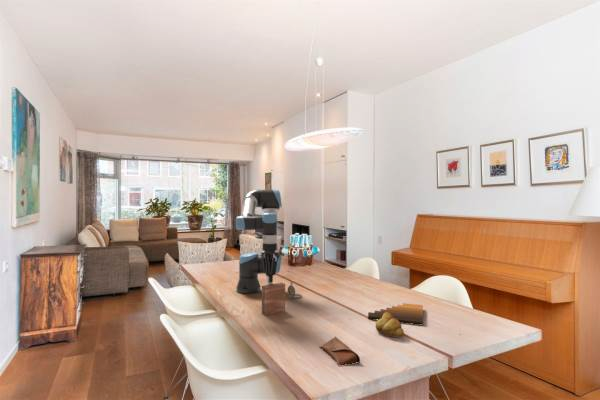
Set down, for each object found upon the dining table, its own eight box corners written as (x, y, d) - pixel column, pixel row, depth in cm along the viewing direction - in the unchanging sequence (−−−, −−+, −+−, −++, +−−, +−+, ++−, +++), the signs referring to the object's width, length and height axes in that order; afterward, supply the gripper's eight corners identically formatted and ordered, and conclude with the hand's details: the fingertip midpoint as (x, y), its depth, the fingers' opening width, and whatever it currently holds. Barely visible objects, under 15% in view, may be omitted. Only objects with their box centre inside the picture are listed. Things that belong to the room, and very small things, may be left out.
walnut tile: (261, 313, 176) (261, 285, 176) (281, 308, 183) (281, 282, 183) (265, 315, 173) (265, 287, 173) (285, 310, 180) (285, 283, 180)
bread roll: (408, 337, 146) (409, 318, 146) (390, 341, 142) (391, 322, 142) (388, 327, 158) (388, 309, 158) (371, 331, 154) (371, 312, 154)
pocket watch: (303, 296, 207) (303, 279, 207) (298, 300, 199) (298, 282, 199) (290, 295, 210) (290, 278, 210) (285, 298, 202) (285, 281, 202)
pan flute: (367, 320, 168) (422, 327, 160) (367, 313, 168) (422, 319, 160) (374, 305, 192) (422, 310, 183) (374, 299, 192) (422, 304, 183)
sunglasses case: (317, 346, 137) (325, 330, 138) (330, 353, 139) (338, 337, 141) (339, 367, 120) (348, 349, 122) (354, 374, 123) (363, 356, 124)
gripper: (257, 242, 184) (257, 286, 184) (270, 244, 174) (270, 291, 174) (269, 241, 189) (269, 284, 188) (282, 243, 178) (282, 289, 178)
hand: (269, 287), depth 181 cm, fingers closed
